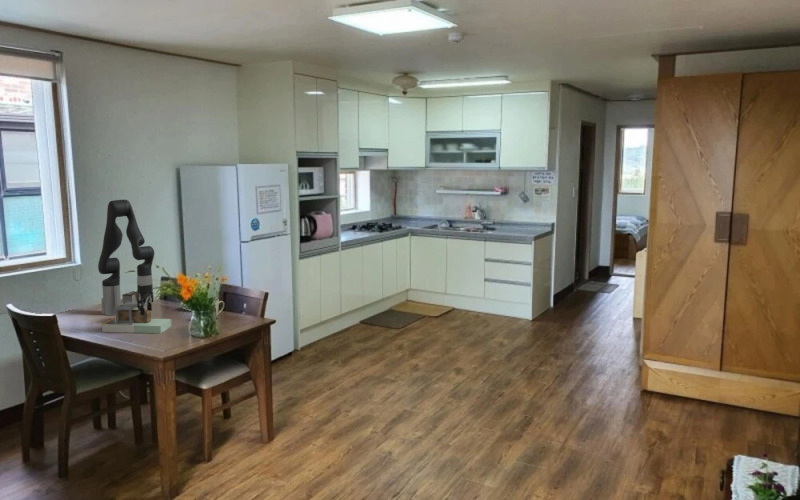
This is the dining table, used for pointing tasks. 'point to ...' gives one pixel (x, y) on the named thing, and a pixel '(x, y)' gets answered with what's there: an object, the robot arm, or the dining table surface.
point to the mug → (218, 305)
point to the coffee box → (131, 298)
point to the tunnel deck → (132, 327)
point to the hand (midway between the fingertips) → (146, 313)
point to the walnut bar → (135, 316)
